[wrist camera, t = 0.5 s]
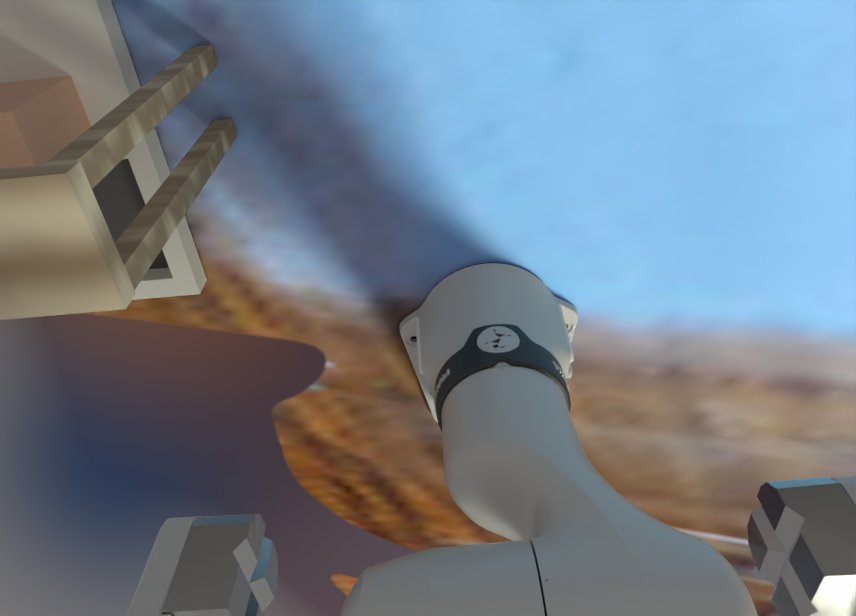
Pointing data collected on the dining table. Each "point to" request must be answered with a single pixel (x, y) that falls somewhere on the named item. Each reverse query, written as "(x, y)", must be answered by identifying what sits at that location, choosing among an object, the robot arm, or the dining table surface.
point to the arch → (80, 213)
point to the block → (38, 120)
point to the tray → (100, 116)
